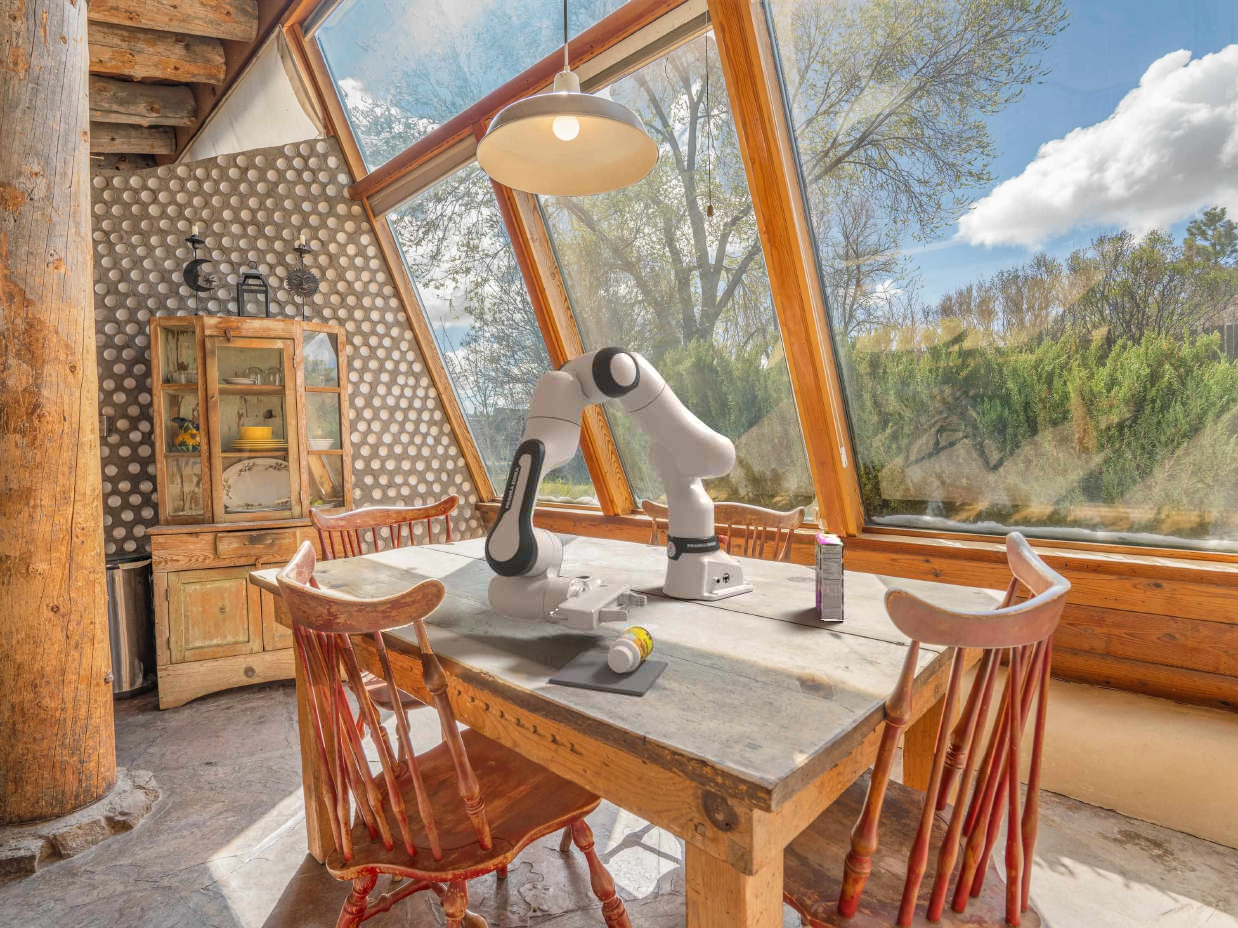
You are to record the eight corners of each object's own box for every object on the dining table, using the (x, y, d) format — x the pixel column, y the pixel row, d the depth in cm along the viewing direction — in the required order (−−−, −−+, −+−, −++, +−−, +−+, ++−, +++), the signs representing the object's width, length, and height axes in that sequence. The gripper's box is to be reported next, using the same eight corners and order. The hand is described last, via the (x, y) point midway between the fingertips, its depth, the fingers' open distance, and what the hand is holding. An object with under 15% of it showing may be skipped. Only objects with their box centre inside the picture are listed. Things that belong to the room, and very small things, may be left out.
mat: (582, 654, 116) (582, 651, 116) (667, 665, 111) (667, 662, 111) (549, 682, 104) (548, 678, 104) (643, 695, 99) (643, 691, 99)
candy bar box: (813, 606, 145) (814, 533, 144) (837, 607, 144) (837, 534, 143) (819, 621, 134) (819, 542, 133) (844, 622, 133) (845, 543, 132)
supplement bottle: (653, 659, 113) (632, 681, 103) (623, 652, 115) (601, 673, 105) (656, 628, 112) (636, 648, 103) (626, 621, 114) (604, 640, 105)
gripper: (541, 599, 112) (616, 606, 108) (589, 573, 132) (654, 578, 127) (542, 634, 113) (616, 643, 108) (589, 603, 132) (654, 609, 127)
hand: (637, 608), depth 117 cm, fingers open, 8 cm apart
